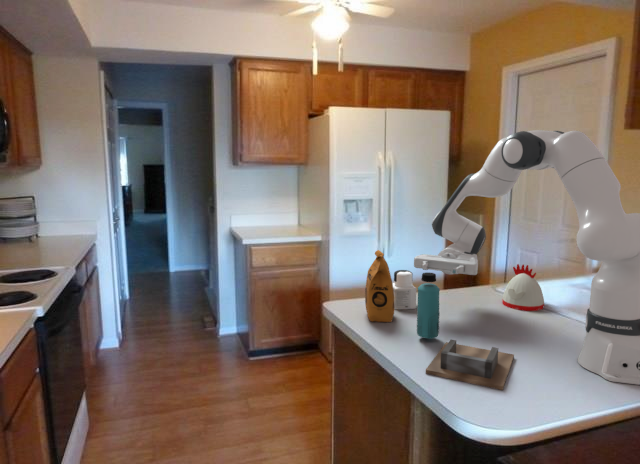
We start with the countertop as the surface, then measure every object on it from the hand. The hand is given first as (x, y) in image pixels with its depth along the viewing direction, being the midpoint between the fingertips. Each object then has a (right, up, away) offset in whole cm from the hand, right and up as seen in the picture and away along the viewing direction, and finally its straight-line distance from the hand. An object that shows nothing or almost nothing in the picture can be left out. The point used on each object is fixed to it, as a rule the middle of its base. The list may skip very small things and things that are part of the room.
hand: (439, 269), depth 145 cm
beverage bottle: (-6, -20, -8) cm, 22 cm away
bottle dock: (+2, -23, -25) cm, 34 cm away
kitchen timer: (+37, -15, +24) cm, 46 cm away
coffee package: (-17, -17, +12) cm, 27 cm away
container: (-7, -15, +24) cm, 29 cm away
